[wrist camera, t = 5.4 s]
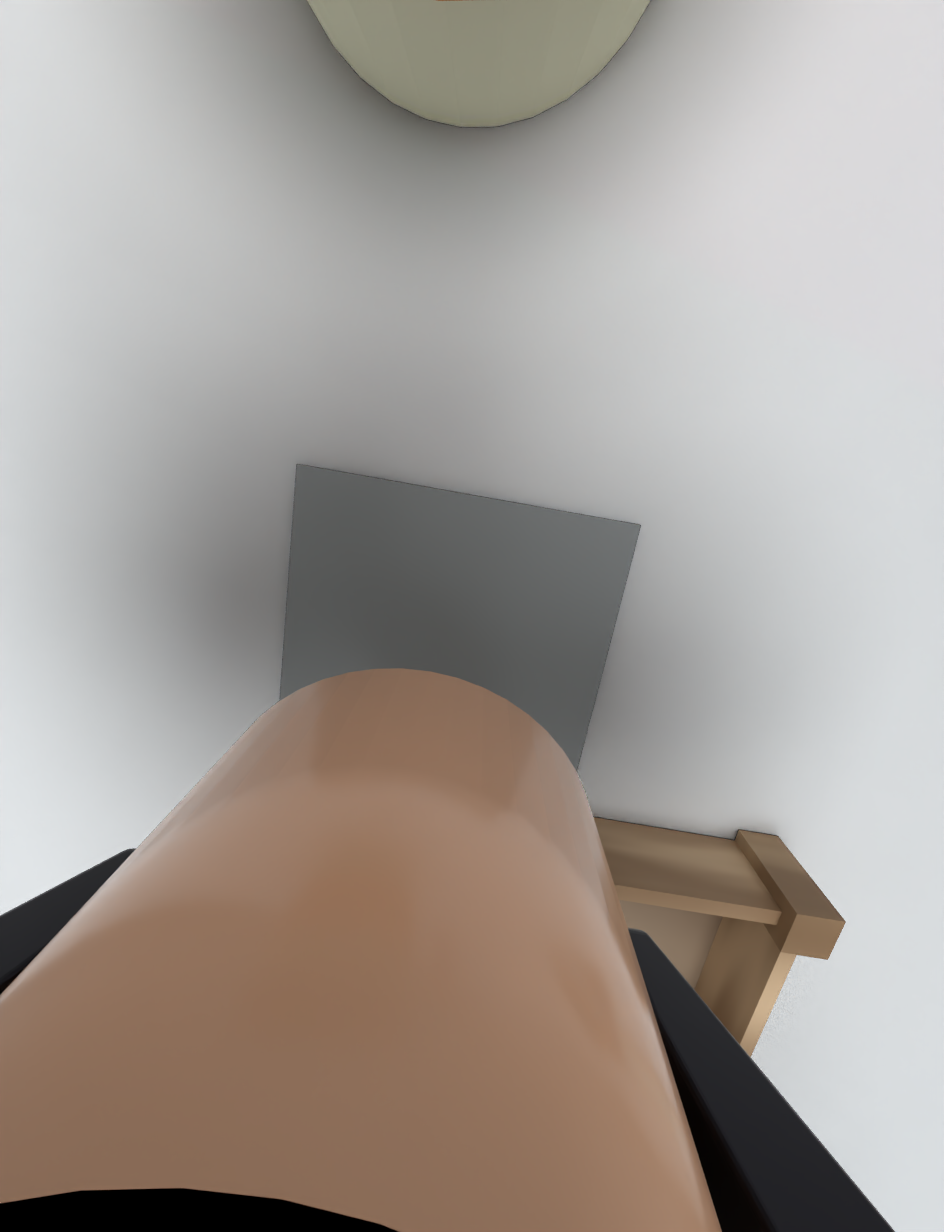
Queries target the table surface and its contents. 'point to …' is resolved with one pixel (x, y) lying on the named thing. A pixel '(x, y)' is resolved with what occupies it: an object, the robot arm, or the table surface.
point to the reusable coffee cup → (478, 52)
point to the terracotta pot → (352, 998)
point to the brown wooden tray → (721, 913)
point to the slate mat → (454, 592)
